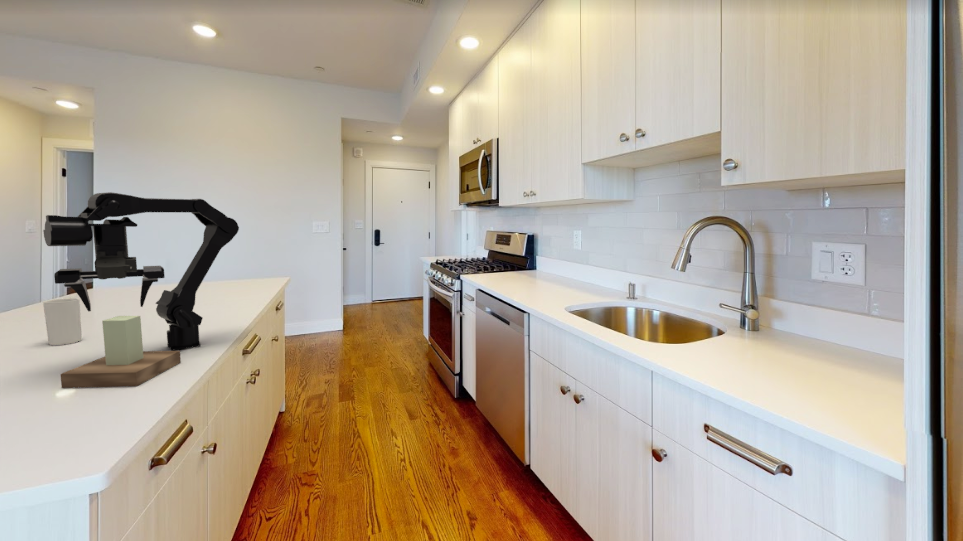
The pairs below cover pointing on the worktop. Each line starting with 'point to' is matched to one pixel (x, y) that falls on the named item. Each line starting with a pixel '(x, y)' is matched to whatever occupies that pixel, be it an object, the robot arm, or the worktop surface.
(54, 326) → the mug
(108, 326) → the block
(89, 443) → the worktop surface
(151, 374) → the base
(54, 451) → the worktop surface
